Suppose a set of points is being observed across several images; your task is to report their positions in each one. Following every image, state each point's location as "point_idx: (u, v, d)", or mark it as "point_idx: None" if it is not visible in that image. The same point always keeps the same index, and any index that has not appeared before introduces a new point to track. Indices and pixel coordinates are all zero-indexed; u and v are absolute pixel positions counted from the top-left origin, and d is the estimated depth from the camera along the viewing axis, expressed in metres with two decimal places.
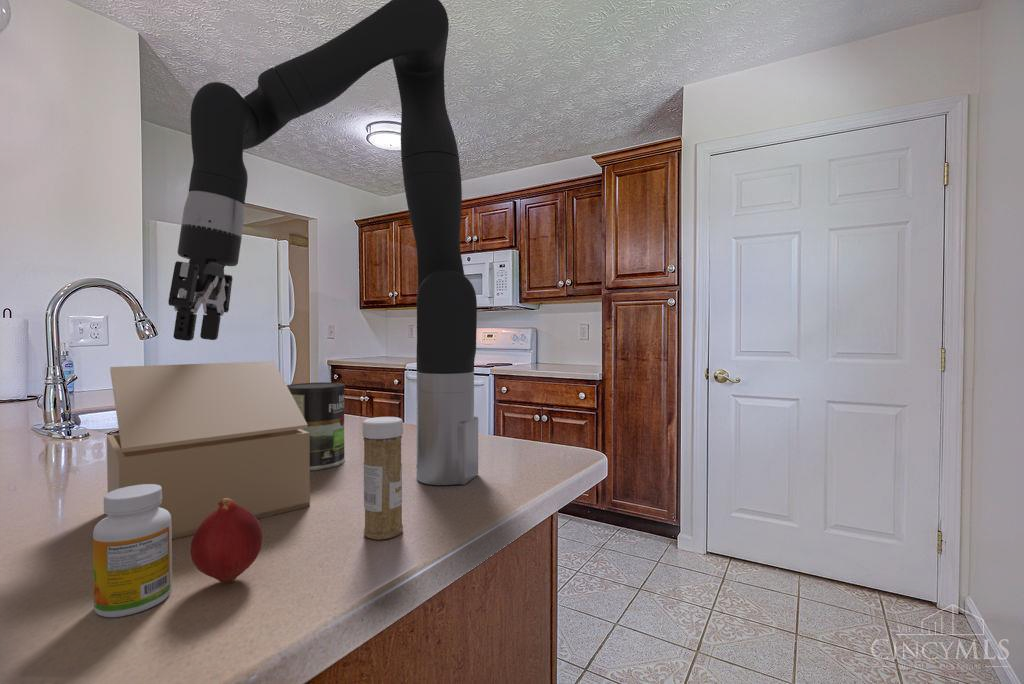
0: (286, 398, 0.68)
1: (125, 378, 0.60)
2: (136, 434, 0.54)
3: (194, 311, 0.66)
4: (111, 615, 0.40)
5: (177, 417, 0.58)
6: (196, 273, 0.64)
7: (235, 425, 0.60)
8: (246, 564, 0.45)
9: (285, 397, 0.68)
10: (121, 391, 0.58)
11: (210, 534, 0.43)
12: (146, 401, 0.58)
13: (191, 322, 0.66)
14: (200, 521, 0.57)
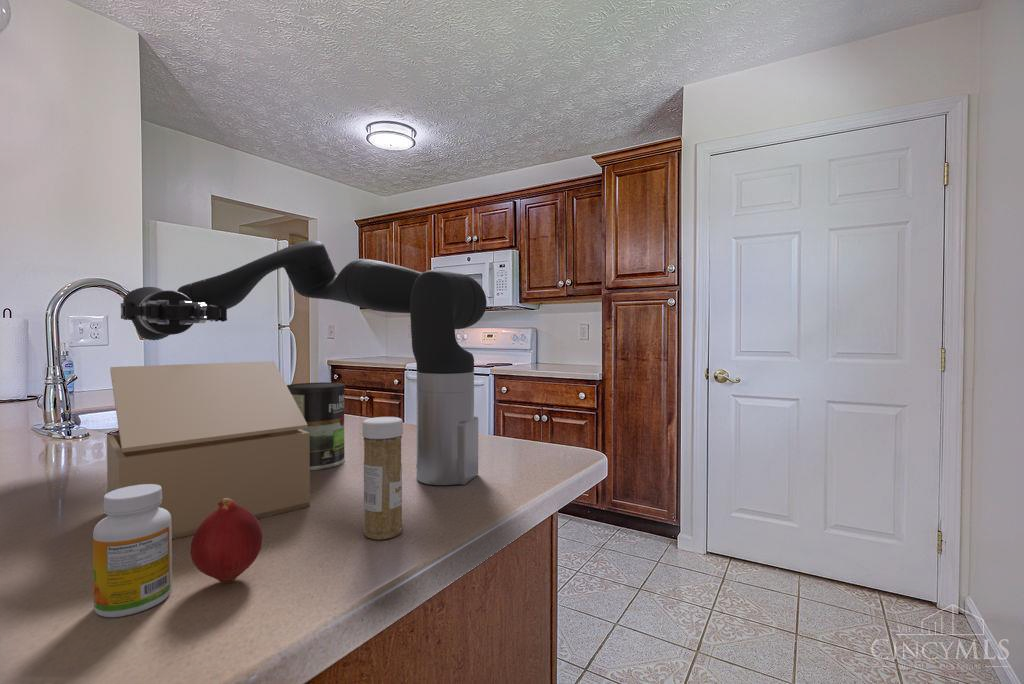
0: (286, 398, 0.68)
1: (125, 378, 0.60)
2: (136, 434, 0.54)
3: (143, 303, 0.73)
4: (111, 615, 0.40)
5: (177, 417, 0.58)
6: None
7: (235, 425, 0.60)
8: (246, 564, 0.45)
9: (285, 398, 0.68)
10: (121, 391, 0.58)
11: (210, 534, 0.43)
12: (146, 401, 0.58)
13: (148, 305, 0.72)
14: (200, 521, 0.57)
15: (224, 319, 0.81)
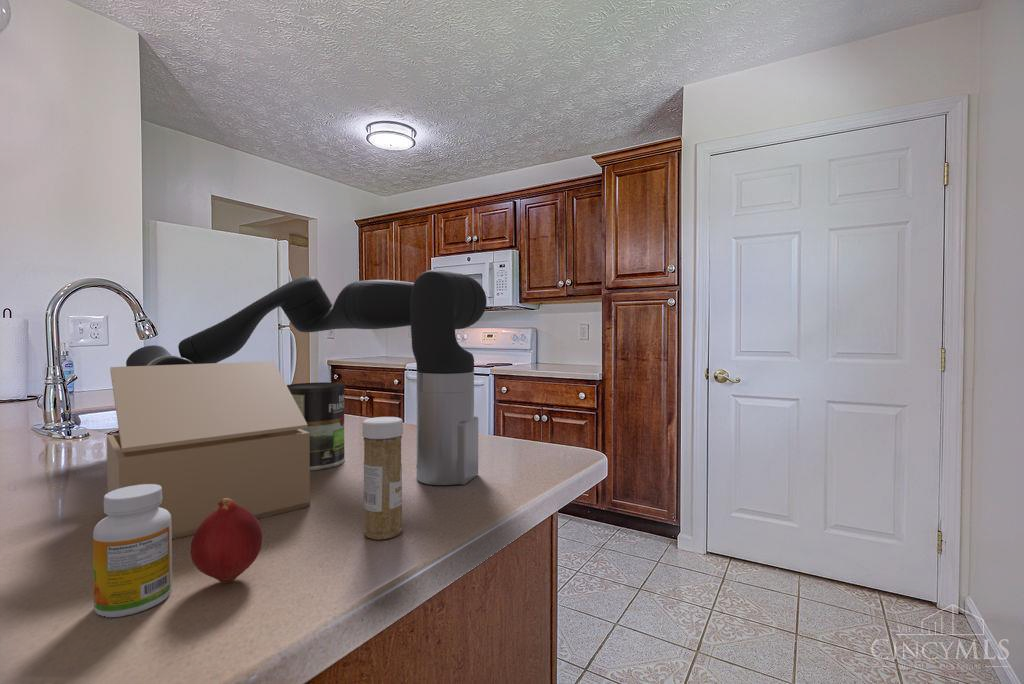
0: (286, 398, 0.68)
1: (125, 378, 0.60)
2: (136, 434, 0.54)
3: None
4: (111, 615, 0.40)
5: (177, 417, 0.58)
6: None
7: (235, 425, 0.60)
8: (246, 564, 0.45)
9: (285, 398, 0.68)
10: (121, 391, 0.58)
11: (210, 534, 0.43)
12: (146, 401, 0.58)
13: None
14: (200, 521, 0.57)
15: None
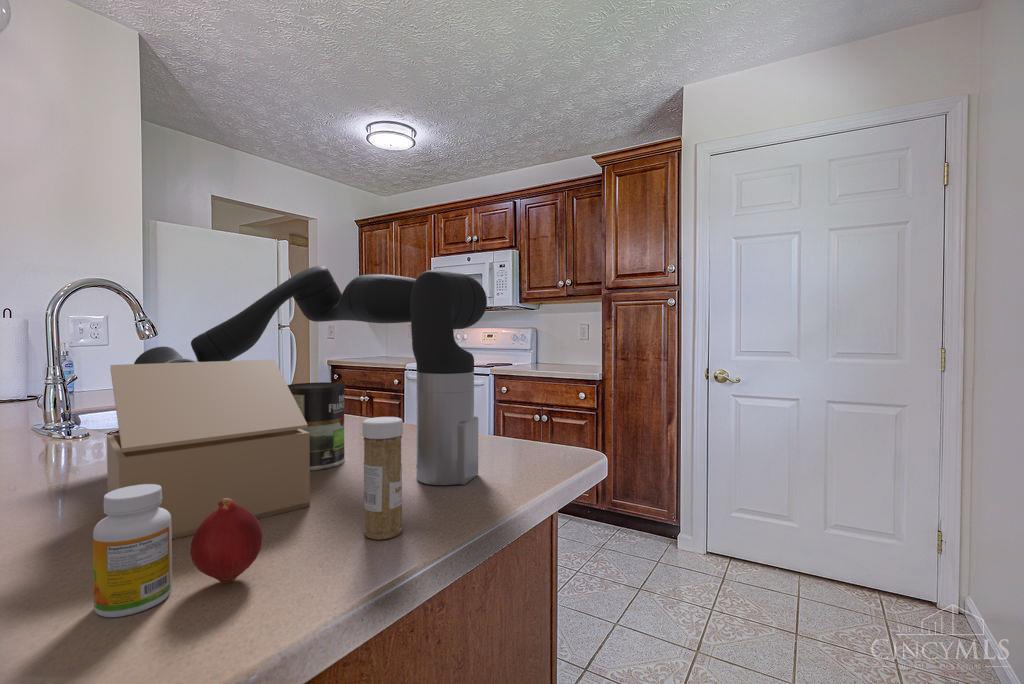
0: (286, 397, 0.68)
1: (125, 376, 0.60)
2: (136, 434, 0.54)
3: None
4: (111, 615, 0.40)
5: (177, 416, 0.58)
6: None
7: (235, 425, 0.60)
8: (246, 564, 0.45)
9: (285, 397, 0.68)
10: (121, 389, 0.58)
11: (210, 534, 0.43)
12: (147, 400, 0.58)
13: None
14: (200, 521, 0.57)
15: None
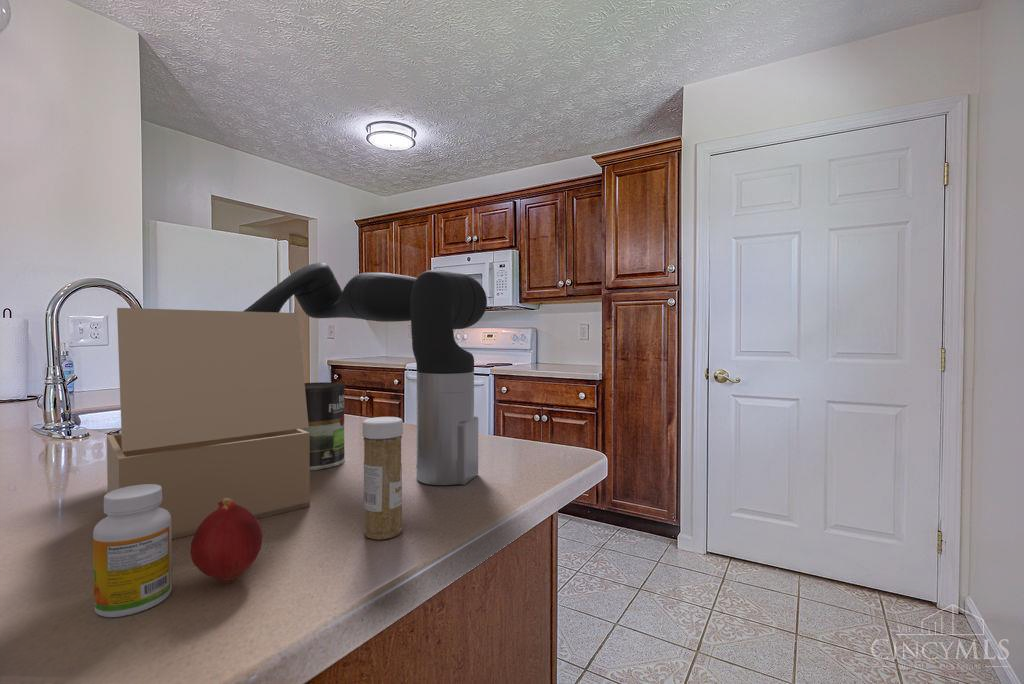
0: (297, 382, 0.65)
1: (133, 331, 0.54)
2: (138, 430, 0.52)
3: None
4: (111, 615, 0.40)
5: (182, 405, 0.56)
6: None
7: (238, 422, 0.59)
8: (246, 564, 0.45)
9: (296, 381, 0.65)
10: (127, 355, 0.53)
11: (210, 534, 0.43)
12: (153, 376, 0.54)
13: None
14: (200, 521, 0.57)
15: None
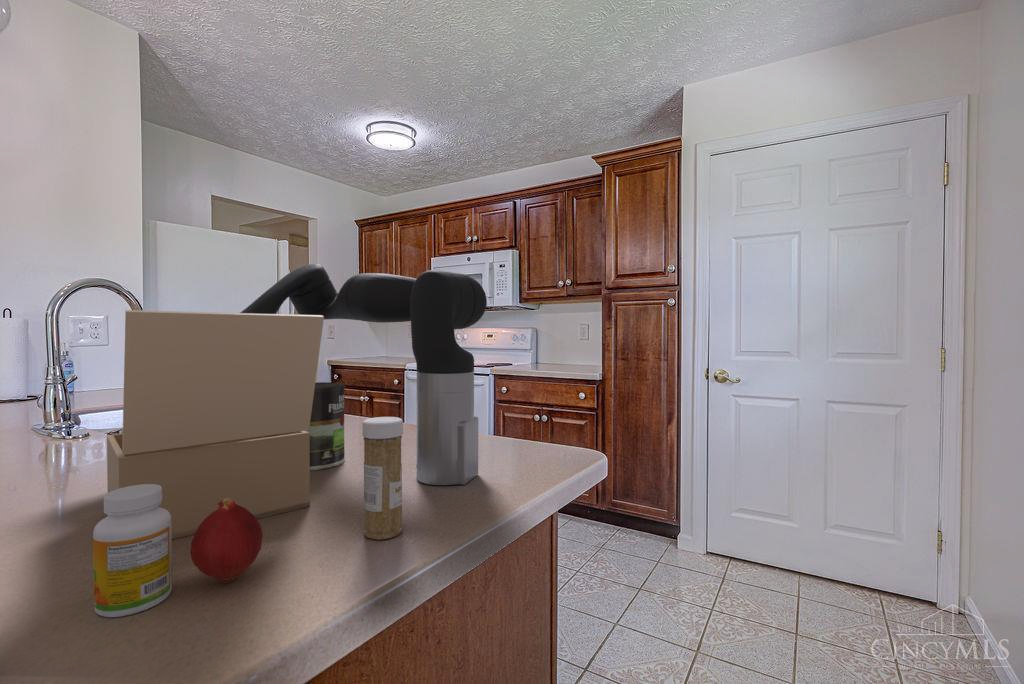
0: (307, 388, 0.62)
1: (142, 337, 0.49)
2: (139, 435, 0.51)
3: None
4: (111, 615, 0.40)
5: (186, 412, 0.54)
6: None
7: (240, 427, 0.58)
8: (246, 564, 0.45)
9: (306, 387, 0.62)
10: (133, 363, 0.49)
11: (210, 534, 0.43)
12: (159, 383, 0.51)
13: None
14: (200, 521, 0.57)
15: None
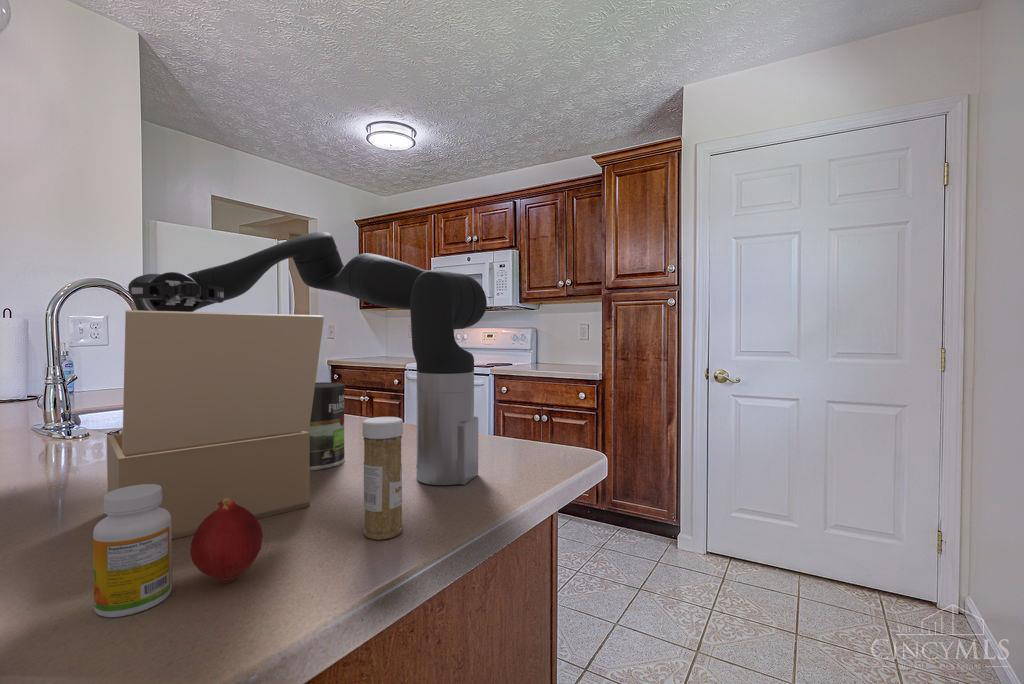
0: (307, 388, 0.62)
1: (142, 337, 0.49)
2: (139, 435, 0.51)
3: (179, 283, 0.74)
4: (111, 615, 0.40)
5: (186, 412, 0.54)
6: None
7: (240, 427, 0.58)
8: (246, 564, 0.45)
9: (306, 387, 0.62)
10: (133, 363, 0.49)
11: (210, 534, 0.43)
12: (159, 384, 0.51)
13: (181, 284, 0.73)
14: (200, 521, 0.57)
15: (203, 298, 0.76)
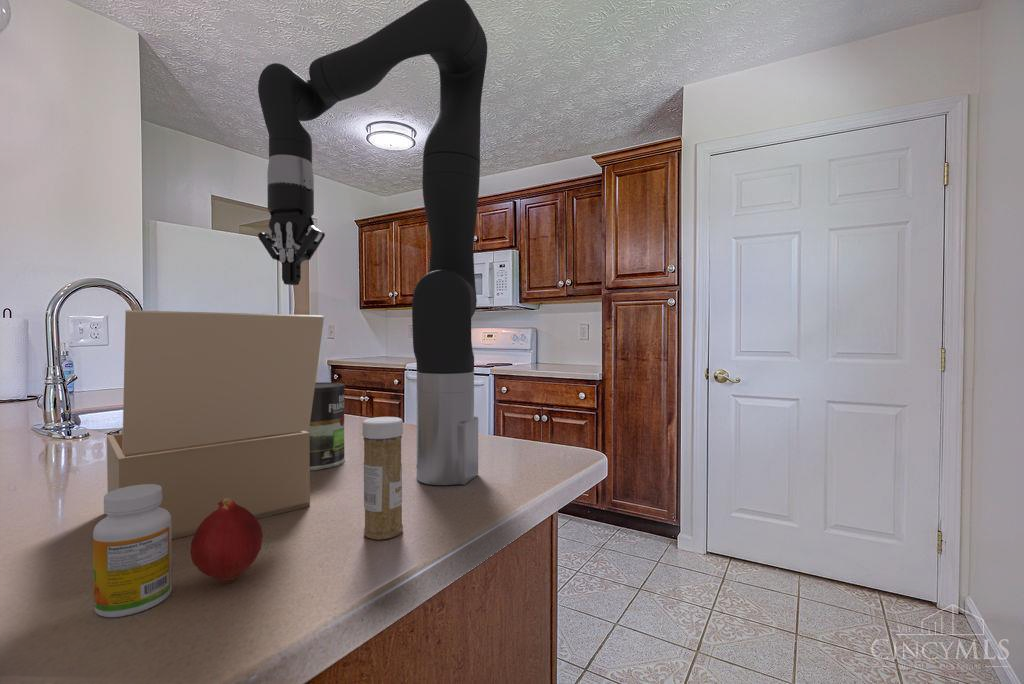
0: (307, 388, 0.62)
1: (142, 337, 0.49)
2: (139, 435, 0.51)
3: (282, 261, 0.85)
4: (111, 615, 0.40)
5: (186, 412, 0.54)
6: (262, 237, 0.86)
7: (240, 427, 0.58)
8: (246, 564, 0.45)
9: (306, 387, 0.62)
10: (133, 363, 0.49)
11: (210, 534, 0.43)
12: (159, 384, 0.51)
13: None
14: (200, 521, 0.57)
15: (306, 259, 0.87)
